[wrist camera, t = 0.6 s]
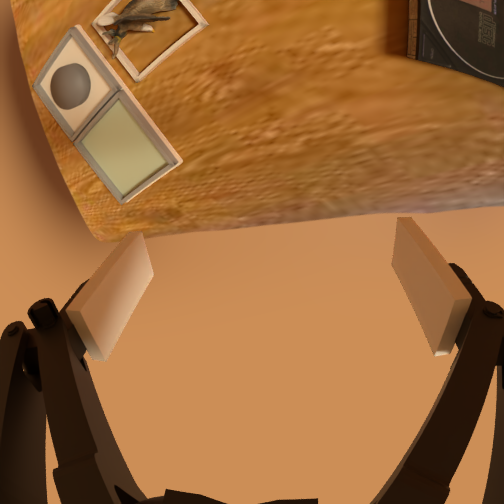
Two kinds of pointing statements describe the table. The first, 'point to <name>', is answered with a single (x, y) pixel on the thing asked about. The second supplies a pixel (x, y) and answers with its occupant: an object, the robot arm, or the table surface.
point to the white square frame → (161, 58)
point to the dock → (103, 117)
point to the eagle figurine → (134, 18)
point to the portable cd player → (459, 36)
